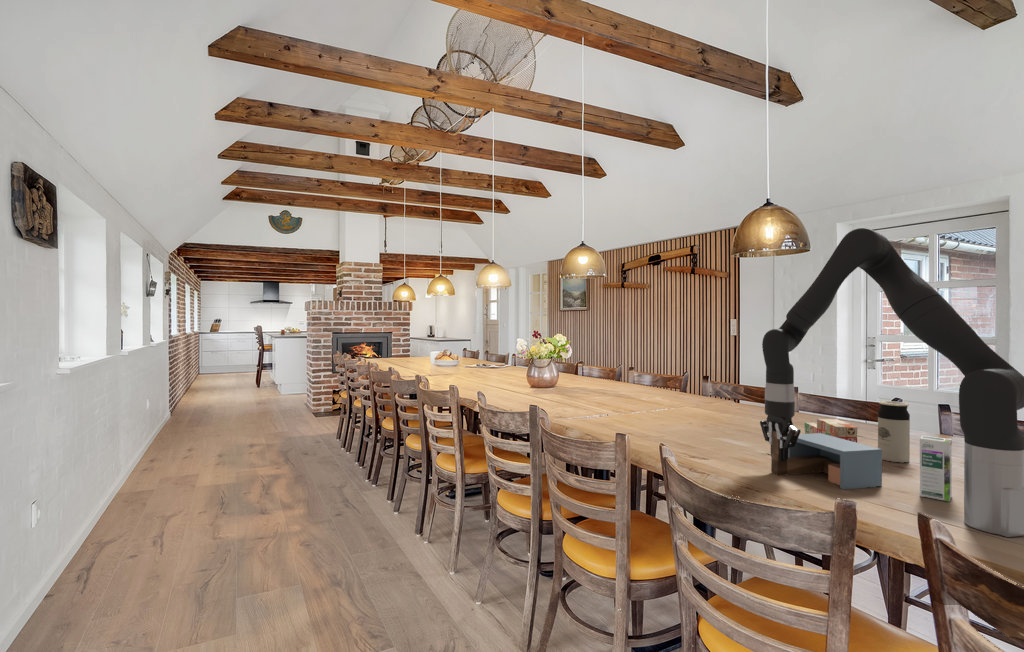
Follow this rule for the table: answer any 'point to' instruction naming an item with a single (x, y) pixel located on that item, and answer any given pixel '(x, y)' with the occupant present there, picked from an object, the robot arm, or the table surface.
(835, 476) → the cube
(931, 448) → the syrup box
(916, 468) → the table surface
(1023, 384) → the robot arm
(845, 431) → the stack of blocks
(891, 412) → the travel mug
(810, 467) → the bent wooden plank
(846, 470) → the cubby
